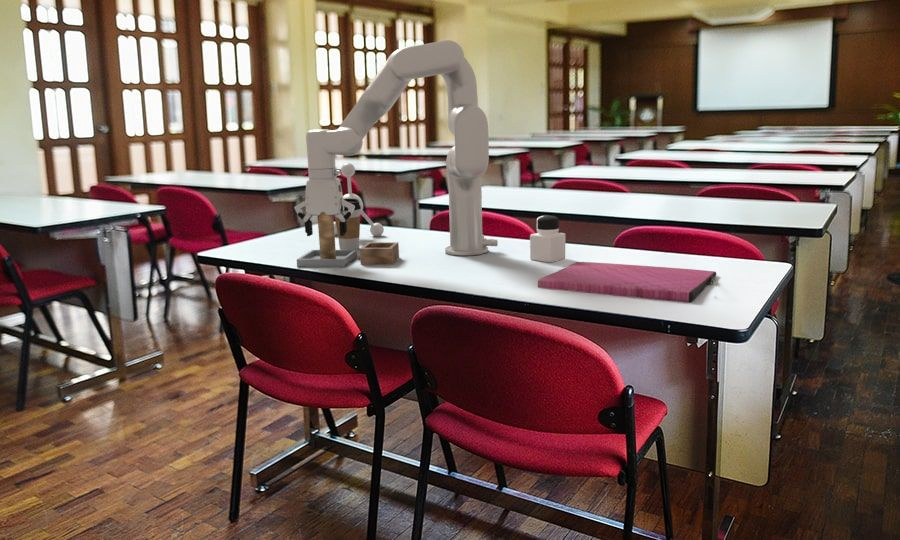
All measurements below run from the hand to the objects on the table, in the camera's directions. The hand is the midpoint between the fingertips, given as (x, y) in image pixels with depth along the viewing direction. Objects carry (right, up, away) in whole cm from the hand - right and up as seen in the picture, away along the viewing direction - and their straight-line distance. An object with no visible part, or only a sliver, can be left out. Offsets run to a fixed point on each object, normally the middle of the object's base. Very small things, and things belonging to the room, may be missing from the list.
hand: (326, 235), depth 218 cm
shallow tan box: (+15, -7, 0) cm, 17 cm away
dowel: (0, -7, +2) cm, 7 cm away
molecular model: (+2, 0, +37) cm, 37 cm away
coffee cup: (+4, -3, +20) cm, 21 cm away
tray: (0, -7, +2) cm, 8 cm away
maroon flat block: (+80, -14, -32) cm, 87 cm away
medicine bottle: (+62, -7, -4) cm, 63 cm away
